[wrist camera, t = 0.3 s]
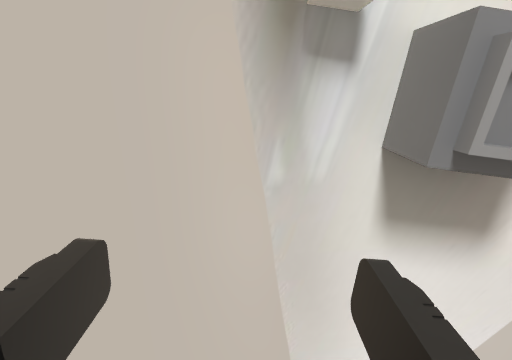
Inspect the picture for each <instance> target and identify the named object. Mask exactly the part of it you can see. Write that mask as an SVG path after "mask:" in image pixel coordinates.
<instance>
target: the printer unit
mask: <svg viewBox="0 0 512 360" xmlns="http://www.w3.org/2000/svg"><path fill="white" fill-rule="evenodd" d="M382 147H383V148H385V149H387V150H389V151H391V152H394V153H396V154H398V155H400V156H403V157H405V158H407V159H409V160H412V161H414V162H416V163H418V164H421V165H423V166H425V167H429V168H437V169H444V170H451V171H458V172H466V173H474V174H481V175H489V176H497V177H504V178H512V11H510V10H504V9H497V8H491V7H485V6H478V7H476V8H473V9H470V10H468V11H465V12H462V13H460V14H457V15H454V16H451V17H449V18H446V19H443V20H441V21H438V22H435V23H433V24H430V25H427V26H425V27H422V28H419V29H417V30H414V33H413V37H412V40H411V44H410V48H409V51H408V55H407V58H406V62H405V66H404V69H403V73H402V77H401V80H400V84H399V87H398V91H397V95H396V98H395V102H394V106H393V109H392V113H391V116H390V120H389V124H388V127H387V131H386V135H385V138H384V142H383V145H382Z"/></svg>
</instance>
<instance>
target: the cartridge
mask: <svg viewBox="0 0 512 360" xmlns="http://www.w3.org/2000/svg"><path fill="white" fill-rule="evenodd" d="M372 1H373V0H307V4H310V5H317V6H323V7H330V8H336V9H342V10H349V11H355V12H359V11H360V10H361V9H363V8H364V7H365V6H367V5H368V4H369V3H370V2H372Z"/></svg>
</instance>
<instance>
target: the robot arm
mask: <svg viewBox="0 0 512 360" xmlns="http://www.w3.org/2000/svg"><path fill="white" fill-rule="evenodd" d="M110 286H111V280H110V270H109V260H108V250H107V244H106V242H105V241H104V240H94V239H80V238H78V239H75V240H73V241H72V242H71V243H70V244H68V245H67V246H66V247H65V248H64V249H63V250H61V251H60V252H59V253H58V254H53V255H51V256H49V257H47V258H45V259H43V260H41V261H39V262H37V263H35V264H34V265H32V266H31V267H30V268H28V269H27V270H26V271H25V272H23V273H22V274H21V275H20V276H19V277H18V279H15V280H13V281H12V282H11V283H10V284H8V285H7V286H6V287H5V288H4V290H3V291H0V360H66V359H67V357H68V356H69V354H70V353H71V351H72V350H73V348H74V347H75V346H76V344H77V343H78V341H79V340H80V338H81V337H82V335H83V334H84V333H85V331H86V330H87V328H88V327H89V325H90V324H91V323H92V321H93V320H94V318H95V317H96V315H97V314H98V312H99V311H100V309H101V308H102V307H103V305H104V304H105V302H106V300H107V298H108V295H109V292H110ZM351 313H352V317H353V320H354V323H355V325H356V327H357V330H358V332H359V334H360V337H361V339H362V341H363V344H364V346H365V348H366V351H367V353H368V356H369V358H370V360H480V359H479V358H478V357H477V355H476V354H475V353H474V352H473V351H472V349H471V348H470V347H469V346H468V345H467V343H466V342H465V341H464V340H463V339H462V337H461V336H460V335H459V334H458V333H457V331H456V330H455V329H454V328H453V326H452V325H451V324H450V323H449V322H448V320H445V319H444V316H443V314H442V313H441V312H440V311H439V310H438V308H437V307H434V304H433V302H432V301H431V300H430V299H429V297H428V296H427V295H426V294H425V293H424V291H423V290H422V289H420V288H419V287H418V286H416V285H415V284H414V283H412V282H411V281H409V280H408V279H407V278H402V277H401V275H400V274H399V273H398V272H397V270H396V269H395V268H394V266H393V265H392V264H391V263H390V262H389V261H388V260H377V259H362V260H361V261H360V263H359V267H358V271H357V275H356V279H355V284H354V288H353V292H352V297H351Z"/></svg>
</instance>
